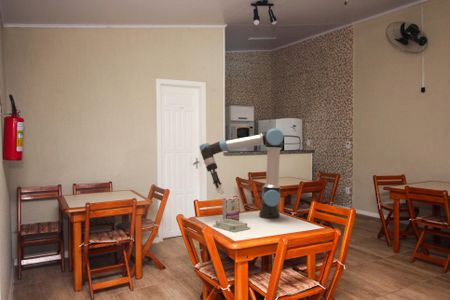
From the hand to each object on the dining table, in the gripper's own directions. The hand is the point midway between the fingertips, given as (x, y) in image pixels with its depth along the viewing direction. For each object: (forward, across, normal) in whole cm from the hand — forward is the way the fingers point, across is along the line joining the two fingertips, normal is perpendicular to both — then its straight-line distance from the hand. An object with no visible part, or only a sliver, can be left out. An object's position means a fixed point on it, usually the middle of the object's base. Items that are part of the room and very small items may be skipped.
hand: (221, 193), depth 242 cm
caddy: (+24, +14, 0) cm, 28 cm away
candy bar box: (+21, -3, -1) cm, 21 cm away
